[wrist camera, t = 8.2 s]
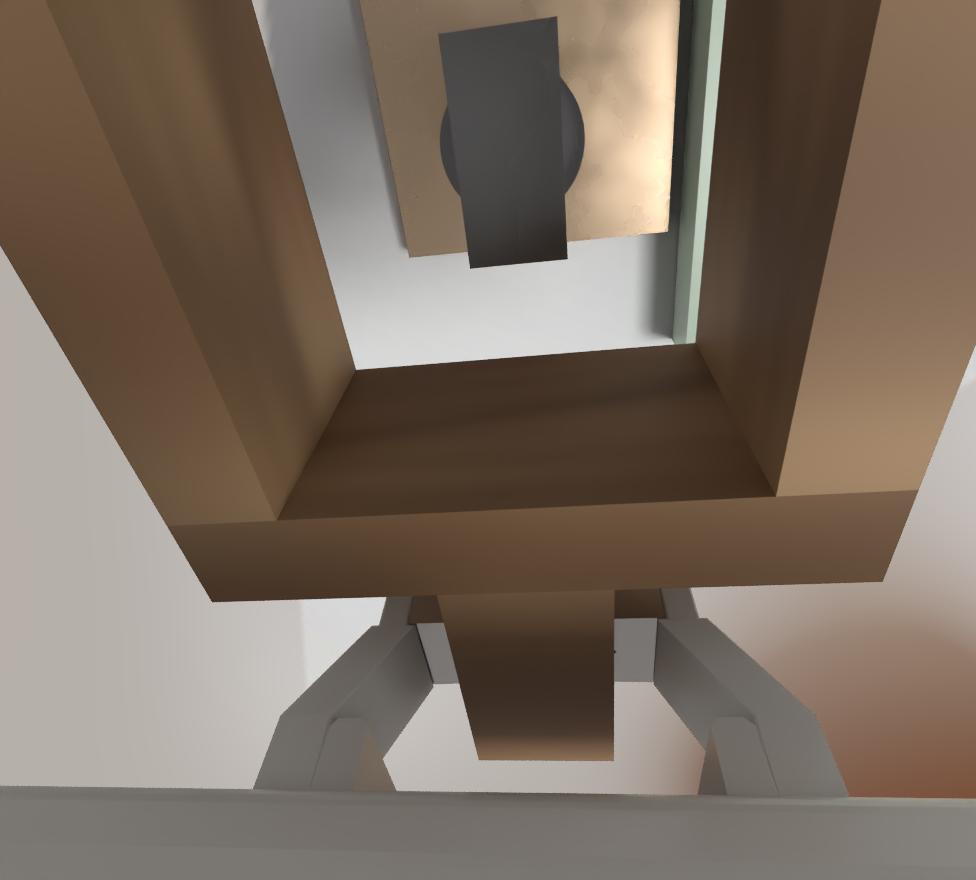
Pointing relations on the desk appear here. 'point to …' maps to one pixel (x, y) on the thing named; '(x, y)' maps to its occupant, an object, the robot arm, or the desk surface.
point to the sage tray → (697, 162)
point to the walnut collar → (506, 381)
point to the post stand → (525, 121)
